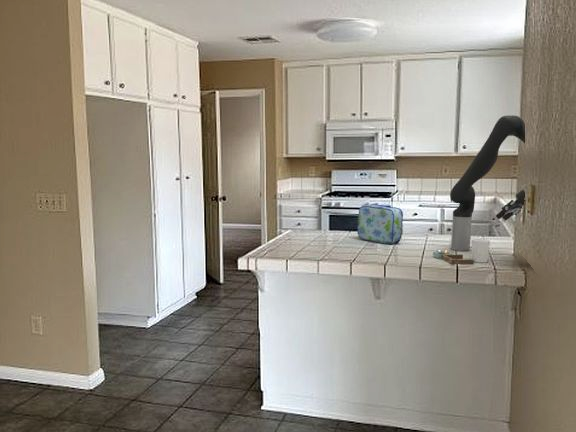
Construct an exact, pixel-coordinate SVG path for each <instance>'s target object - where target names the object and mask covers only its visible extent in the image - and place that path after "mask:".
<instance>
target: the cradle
mask: <svg viewBox="0 0 576 432" xmlns="http://www.w3.org/2000/svg"><path fill="white" fill-rule="evenodd" d="M441 260H443V261H444V260H445V261H444V262H447V263H448V264H451V265H453V266H455V264H461V265H474V264H475V262H474V260H473V259H472V258H470V259H464V254H453V255H442V259H441Z"/></svg>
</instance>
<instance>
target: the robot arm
mask: <svg viewBox="0 0 576 432" xmlns="http://www.w3.org/2000/svg"><path fill="white" fill-rule="evenodd" d="M524 122H525V121H524V120H523V119H522V118H521V117H520V116H518V115H503V116H501V117H500V118H498V120H497V121H496V123H495V124H494V127H493V128H492V130H491V132H490V134H489V136H488V138H487V139H486V141H485V142H484V143H483V145H482V147H481V148H480V150H479V151H478V153H477V154H476V155H475V157H474V158H473V160H472V161H471V164H470V165H469V166H468V168H467V169H466V170H465V172H464V173H463V175H462V176H461V178H460V179H459V180H458V181H457V182H456V183H455V184H454V186H453V187H452V188H451V191H450V194H449V197H450V200H451V202H453V203H454V204H459V205H458V206H457V208H456V209H454V210H453V212H452V223H451V224H452V226H451V227H452V228H451V240H450V241H451V242H450V243H451V244H450V248H451V250H453V251H459V252H460V251H461V252H462V251H463V252H467V251H470V249H471V240H472V239H471V238H472V237H471V236H472V218H473V217H472V216H473V213H474V209H475V202H476V201H475V200H476V192H475V188H474V187H473V185H474V184H476V182H478V181H480V180H481V179H482V178H483V177H485V176H486V175H487V174H488V173H489V172H490V171H491V170H492V168H493V167H494V165H495V164H496V162H497V160H498V156H499V150H500V147H501V146H502V144H503V143H504V141H505V140H506V139H507V138H508V137H511V136H513V137H515V138H517V139H519V140H520V141H521V142H522V143H524V144H525V123H526V122H525V123H524ZM515 198H516V199H515V200H513V199H511V200H510V201H509V202H507V203H506V204H505V205H504V206H501V211H499V212H498V213H497V214H495V217H496V219H498V220H500V219H503V220H504V221H508V220H509V219H510V218H511V217H513V216H517V215H518V214H519V213H520V212H522V210H521V209H522V206H523V205H524V201H525V200H524V198H525V187H524V188H522V189H521V190H520V191H519V192H517V193H516V194H515Z"/></svg>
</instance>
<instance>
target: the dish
mask: <svg viewBox="0 0 576 432" xmlns="http://www.w3.org/2000/svg"><path fill="white" fill-rule="evenodd" d="M442 255H454V254H453V253H451V252H449V254H438V253H436V251H433V252H432V256H434V258H435V259H439V260H443V259H442Z"/></svg>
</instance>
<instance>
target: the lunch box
mask: <svg viewBox="0 0 576 432" xmlns="http://www.w3.org/2000/svg"><path fill="white" fill-rule="evenodd" d="M357 215H358V216H357V235H358V237H359V239H361V240H364V241H368V242H369V241H370V242H375V243H379V244H380V243H381V244H385V245H386V244H398V243H399V242H400V241H401V240H402V238H403V237H402V235H403V231H404V230H403V229H404V228H403V227H404V224H403V219H404V211H403V210H402V209H400V207H396V206H392V205H388V204H387V205H386V204H374V203H371V204H364V205H361V206H360V207H359V210H358V214H357Z"/></svg>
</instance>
